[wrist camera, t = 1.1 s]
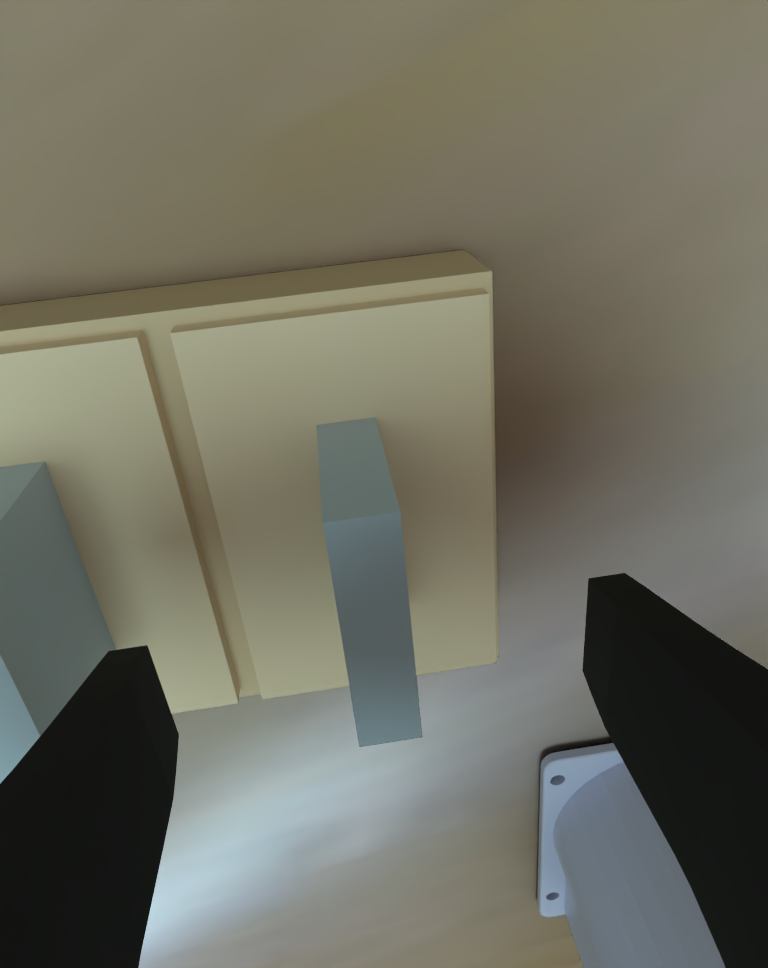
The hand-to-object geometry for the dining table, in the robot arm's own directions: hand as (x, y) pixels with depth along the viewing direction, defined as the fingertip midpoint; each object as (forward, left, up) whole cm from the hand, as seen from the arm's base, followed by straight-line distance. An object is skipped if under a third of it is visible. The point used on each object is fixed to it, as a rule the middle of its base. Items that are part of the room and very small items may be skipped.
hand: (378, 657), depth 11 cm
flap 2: (0, 0, -5) cm, 5 cm away
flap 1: (0, +7, -5) cm, 8 cm away
